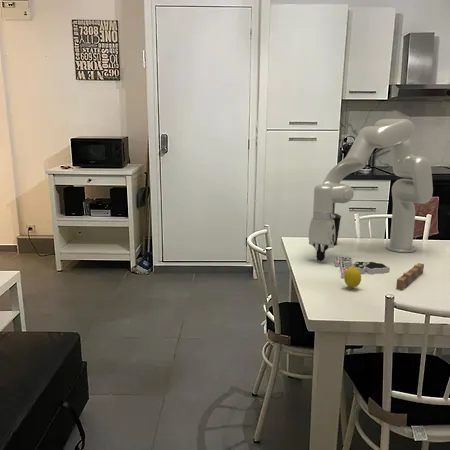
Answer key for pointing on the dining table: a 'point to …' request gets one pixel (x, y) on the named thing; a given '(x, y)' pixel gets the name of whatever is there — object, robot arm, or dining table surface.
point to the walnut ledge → (409, 276)
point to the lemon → (352, 277)
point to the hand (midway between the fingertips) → (320, 260)
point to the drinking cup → (336, 224)
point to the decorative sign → (361, 266)
